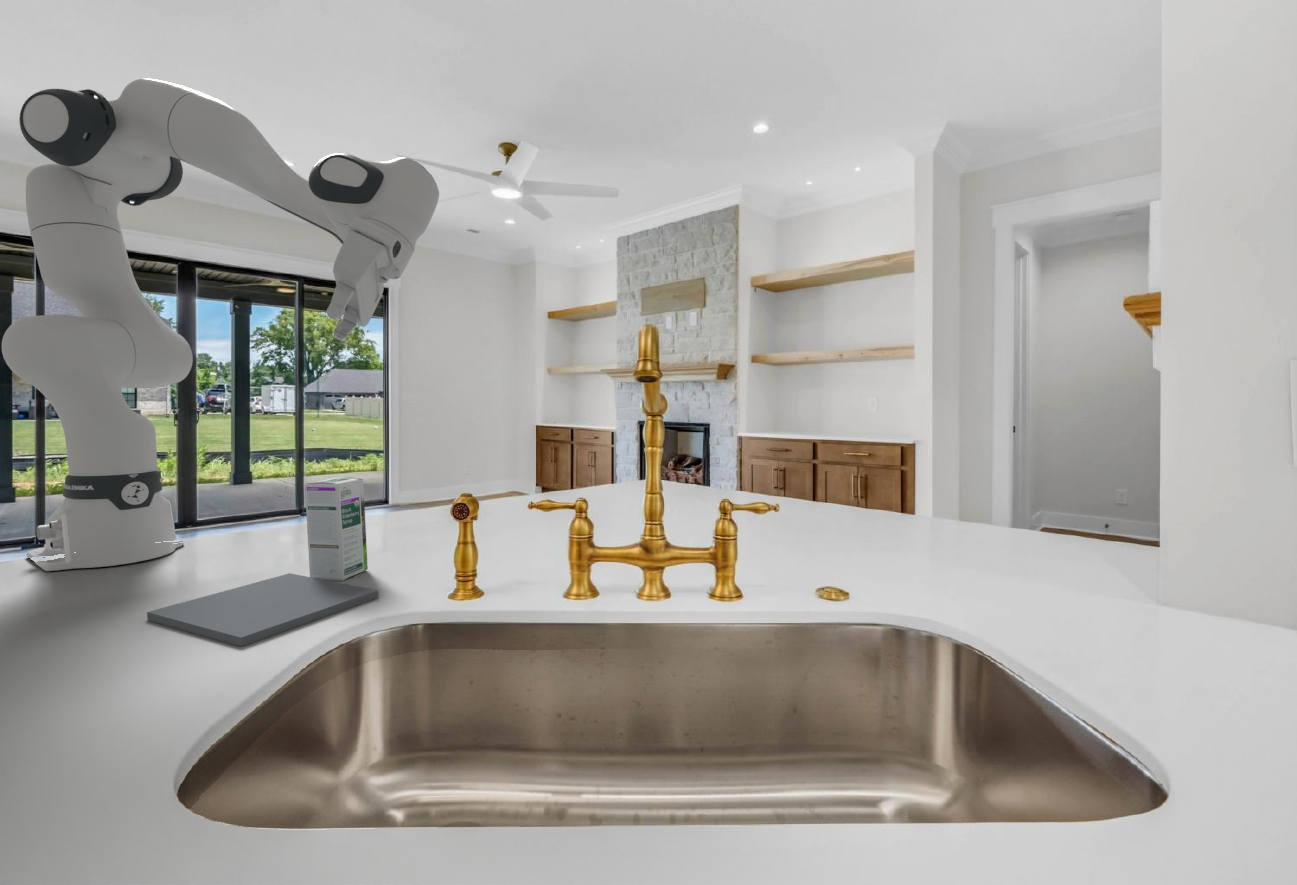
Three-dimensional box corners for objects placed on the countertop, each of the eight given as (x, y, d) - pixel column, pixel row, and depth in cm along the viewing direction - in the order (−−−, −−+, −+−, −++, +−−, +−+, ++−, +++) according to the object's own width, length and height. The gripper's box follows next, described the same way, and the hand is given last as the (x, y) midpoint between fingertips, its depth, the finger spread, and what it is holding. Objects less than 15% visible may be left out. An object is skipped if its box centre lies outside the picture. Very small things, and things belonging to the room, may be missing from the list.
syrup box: (343, 581, 89) (339, 482, 88) (307, 578, 91) (303, 481, 90) (368, 570, 95) (365, 477, 94) (334, 568, 96) (331, 476, 95)
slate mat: (147, 620, 74) (146, 611, 74) (289, 579, 90) (289, 573, 90) (241, 646, 66) (240, 637, 66) (378, 597, 82) (378, 590, 82)
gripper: (361, 271, 104) (322, 341, 100) (352, 209, 85) (303, 292, 81) (397, 288, 106) (360, 358, 102) (397, 232, 87) (351, 314, 83)
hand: (335, 328), depth 91 cm, fingers open, 8 cm apart
